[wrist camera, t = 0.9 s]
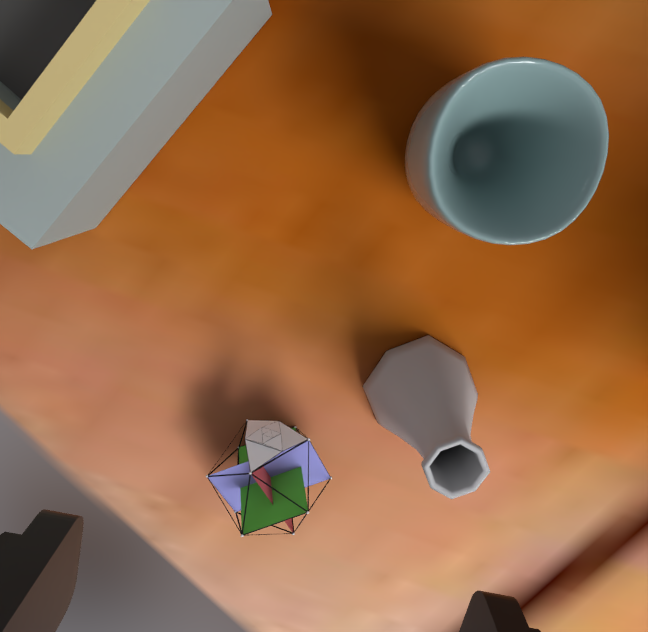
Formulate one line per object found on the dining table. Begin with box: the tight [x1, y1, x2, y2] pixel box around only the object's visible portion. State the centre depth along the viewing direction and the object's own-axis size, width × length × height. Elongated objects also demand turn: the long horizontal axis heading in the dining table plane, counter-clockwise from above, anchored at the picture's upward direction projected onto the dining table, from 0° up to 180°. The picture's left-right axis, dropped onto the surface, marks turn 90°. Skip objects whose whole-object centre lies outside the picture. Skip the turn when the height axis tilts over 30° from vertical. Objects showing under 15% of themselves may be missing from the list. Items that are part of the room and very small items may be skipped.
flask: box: [363, 335, 490, 499], centre depth 33 cm, size 7×7×10 cm
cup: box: [405, 57, 609, 245], centre depth 28 cm, size 8×8×10 cm
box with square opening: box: [0, 0, 272, 249], centre depth 26 cm, size 16×14×10 cm
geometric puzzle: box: [206, 419, 332, 537], centre depth 35 cm, size 7×7×8 cm
